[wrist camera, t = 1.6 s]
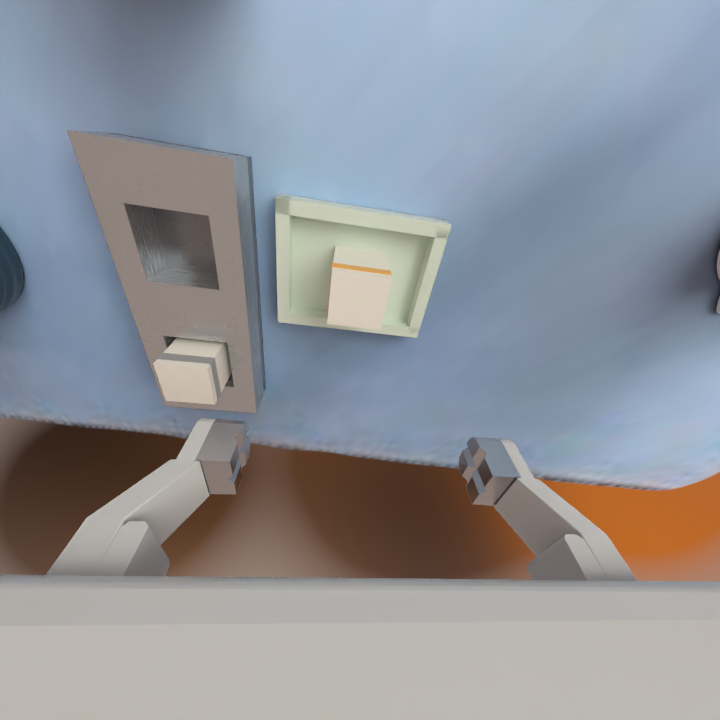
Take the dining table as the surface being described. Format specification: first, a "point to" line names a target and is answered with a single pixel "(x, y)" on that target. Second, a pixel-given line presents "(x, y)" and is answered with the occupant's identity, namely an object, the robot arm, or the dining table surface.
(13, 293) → the canister
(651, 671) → the robot arm
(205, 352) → the twin plug
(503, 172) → the dining table surface
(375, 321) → the plug
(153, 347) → the strip
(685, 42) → the dining table surface
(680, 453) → the dining table surface
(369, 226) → the tray
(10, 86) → the dining table surface
